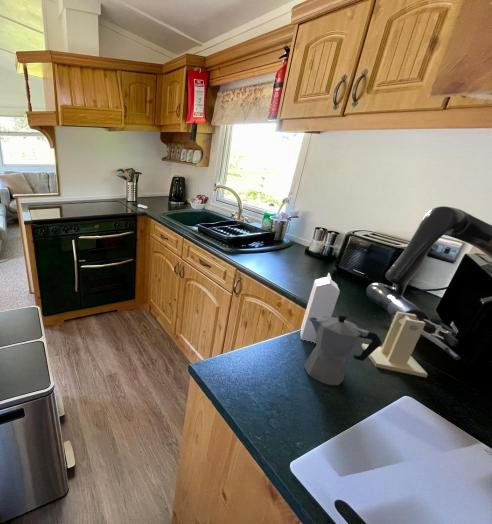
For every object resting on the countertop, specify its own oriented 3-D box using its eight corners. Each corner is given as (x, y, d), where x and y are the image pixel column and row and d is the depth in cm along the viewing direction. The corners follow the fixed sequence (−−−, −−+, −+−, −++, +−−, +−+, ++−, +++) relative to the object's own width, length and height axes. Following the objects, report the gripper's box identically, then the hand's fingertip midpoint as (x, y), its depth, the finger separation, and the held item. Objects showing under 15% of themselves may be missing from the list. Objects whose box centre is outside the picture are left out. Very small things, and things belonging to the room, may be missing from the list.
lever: (433, 343, 84) (441, 337, 83) (455, 362, 76) (464, 356, 75) (392, 315, 85) (399, 309, 84) (409, 331, 77) (417, 325, 76)
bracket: (406, 355, 88) (425, 312, 82) (426, 377, 78) (449, 331, 73) (361, 346, 91) (377, 304, 85) (375, 366, 81) (394, 321, 76)
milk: (300, 339, 92) (319, 276, 84) (299, 330, 97) (317, 270, 90) (322, 345, 90) (343, 281, 82) (320, 335, 95) (339, 274, 87)
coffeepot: (294, 373, 77) (312, 314, 71) (297, 354, 84) (313, 300, 78) (364, 399, 69) (391, 336, 63) (361, 377, 77) (384, 318, 71)
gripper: (385, 299, 98) (412, 324, 83) (436, 308, 94) (473, 334, 80) (378, 319, 101) (403, 345, 86) (427, 327, 97) (461, 356, 82)
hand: (437, 340), depth 83 cm, fingers open, 8 cm apart
